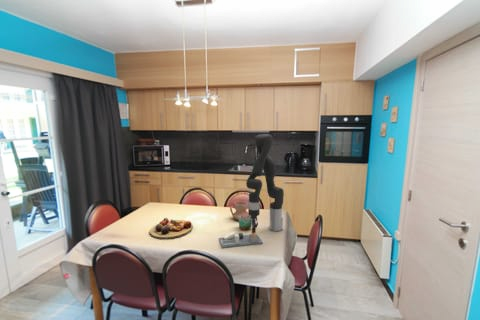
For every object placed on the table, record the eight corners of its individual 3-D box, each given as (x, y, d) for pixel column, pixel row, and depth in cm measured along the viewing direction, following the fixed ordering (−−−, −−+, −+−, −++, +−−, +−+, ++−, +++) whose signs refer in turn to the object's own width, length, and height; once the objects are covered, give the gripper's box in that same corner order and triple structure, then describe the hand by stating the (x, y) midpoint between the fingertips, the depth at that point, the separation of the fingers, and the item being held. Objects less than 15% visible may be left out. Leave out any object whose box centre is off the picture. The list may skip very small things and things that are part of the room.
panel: (257, 235, 171) (257, 229, 171) (262, 243, 159) (262, 237, 158) (219, 239, 165) (218, 233, 165) (221, 248, 153) (221, 241, 152)
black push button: (242, 236, 167) (242, 232, 167) (243, 238, 164) (243, 235, 163) (237, 236, 166) (237, 233, 166) (238, 238, 163) (238, 235, 162)
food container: (235, 229, 181) (234, 216, 180) (238, 226, 187) (238, 214, 185) (249, 232, 176) (249, 219, 175) (252, 228, 182) (252, 216, 180)
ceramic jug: (252, 216, 207) (252, 200, 205) (249, 222, 193) (248, 206, 191) (232, 215, 211) (232, 199, 209) (228, 221, 197) (227, 204, 195)
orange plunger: (255, 237, 163) (255, 230, 163) (257, 239, 160) (257, 233, 159) (250, 238, 163) (250, 231, 162) (252, 240, 159) (252, 233, 158)
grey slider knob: (238, 240, 161) (238, 233, 160) (239, 242, 157) (239, 236, 157) (234, 240, 160) (234, 234, 160) (235, 243, 157) (235, 236, 156)
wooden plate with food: (199, 224, 192) (199, 214, 191) (179, 242, 161) (178, 230, 160) (165, 221, 201) (165, 211, 200) (140, 237, 170) (139, 226, 169)
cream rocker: (234, 232, 166) (233, 230, 165) (235, 235, 162) (234, 233, 161) (224, 237, 164) (223, 236, 164) (225, 240, 161) (224, 238, 160)
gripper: (262, 210, 153) (261, 235, 155) (256, 204, 165) (256, 227, 168) (251, 211, 151) (251, 237, 153) (246, 205, 164) (246, 228, 166)
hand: (253, 232), depth 161 cm, fingers closed
